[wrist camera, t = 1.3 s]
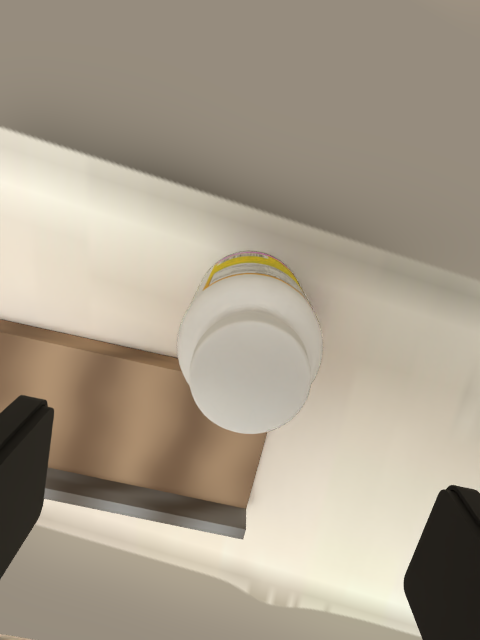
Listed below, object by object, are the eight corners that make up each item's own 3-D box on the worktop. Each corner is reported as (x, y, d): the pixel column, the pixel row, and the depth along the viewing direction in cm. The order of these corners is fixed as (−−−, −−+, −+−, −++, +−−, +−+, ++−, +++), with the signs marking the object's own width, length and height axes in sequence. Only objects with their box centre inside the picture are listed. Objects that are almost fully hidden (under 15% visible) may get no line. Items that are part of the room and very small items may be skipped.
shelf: (276, 380, 31) (279, 407, 27) (243, 501, 34) (242, 541, 30) (-48, 308, 30) (-92, 326, 26) (-55, 439, 33) (-95, 472, 29)
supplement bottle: (255, 368, 31) (258, 488, 19) (178, 307, 30) (126, 391, 18) (323, 293, 29) (374, 371, 17) (243, 226, 28) (236, 257, 16)
